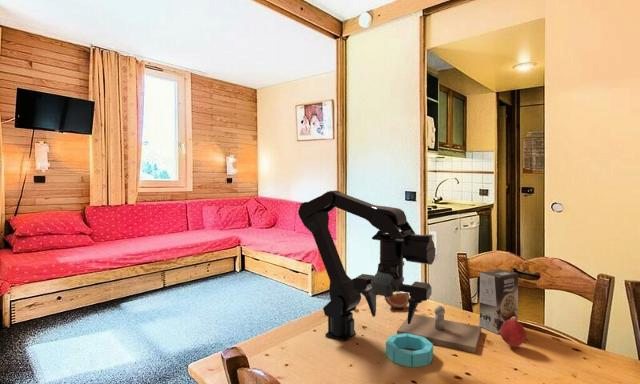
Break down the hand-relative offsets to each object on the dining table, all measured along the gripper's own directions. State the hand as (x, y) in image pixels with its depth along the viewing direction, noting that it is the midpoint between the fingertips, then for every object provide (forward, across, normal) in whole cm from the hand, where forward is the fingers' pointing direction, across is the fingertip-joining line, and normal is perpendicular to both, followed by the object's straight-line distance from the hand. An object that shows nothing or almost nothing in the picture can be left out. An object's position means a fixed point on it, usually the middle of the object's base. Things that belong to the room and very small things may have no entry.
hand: (391, 319), depth 89 cm
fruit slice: (+8, -8, +30) cm, 32 cm away
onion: (+8, +27, +17) cm, 33 cm away
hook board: (+8, +9, +16) cm, 20 cm away
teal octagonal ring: (+8, +5, 0) cm, 9 cm away
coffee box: (+8, +23, +29) cm, 38 cm away
